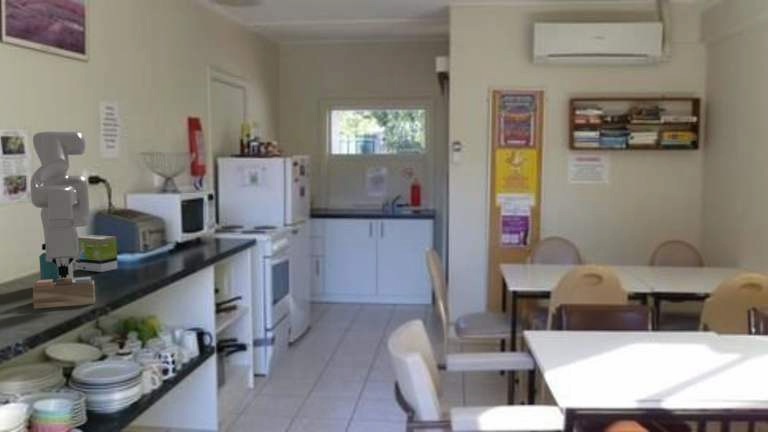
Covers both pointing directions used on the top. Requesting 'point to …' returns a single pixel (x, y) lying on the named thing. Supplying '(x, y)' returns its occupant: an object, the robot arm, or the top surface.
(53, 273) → the beverage bottle
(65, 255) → the robot arm
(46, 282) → the salmon pink cube
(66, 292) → the wooden compartment box
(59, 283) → the brown cube
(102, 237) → the tea box
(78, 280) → the grey cube
